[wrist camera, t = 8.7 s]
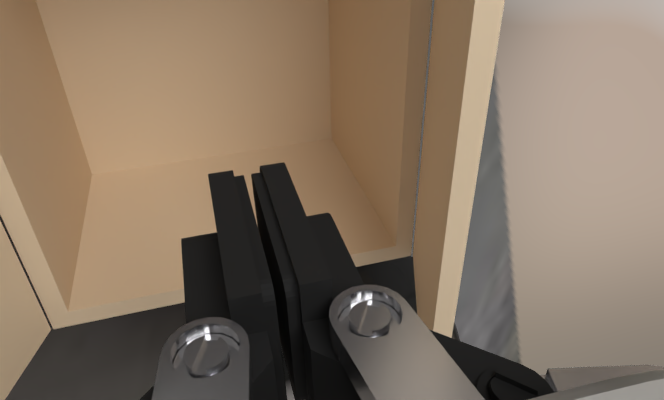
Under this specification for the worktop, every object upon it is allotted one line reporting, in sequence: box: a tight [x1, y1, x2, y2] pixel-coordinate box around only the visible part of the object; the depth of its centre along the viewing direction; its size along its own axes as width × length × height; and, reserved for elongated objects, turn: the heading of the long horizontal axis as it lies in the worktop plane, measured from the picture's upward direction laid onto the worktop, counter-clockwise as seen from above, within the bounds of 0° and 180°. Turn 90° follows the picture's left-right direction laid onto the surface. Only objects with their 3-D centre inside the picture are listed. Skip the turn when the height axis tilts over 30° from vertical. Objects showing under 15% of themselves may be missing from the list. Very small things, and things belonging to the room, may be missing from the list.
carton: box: [0, 0, 432, 329], centre depth 23 cm, size 20×16×12 cm
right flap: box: [413, 0, 505, 338], centre depth 16 cm, size 20×8×1 cm
